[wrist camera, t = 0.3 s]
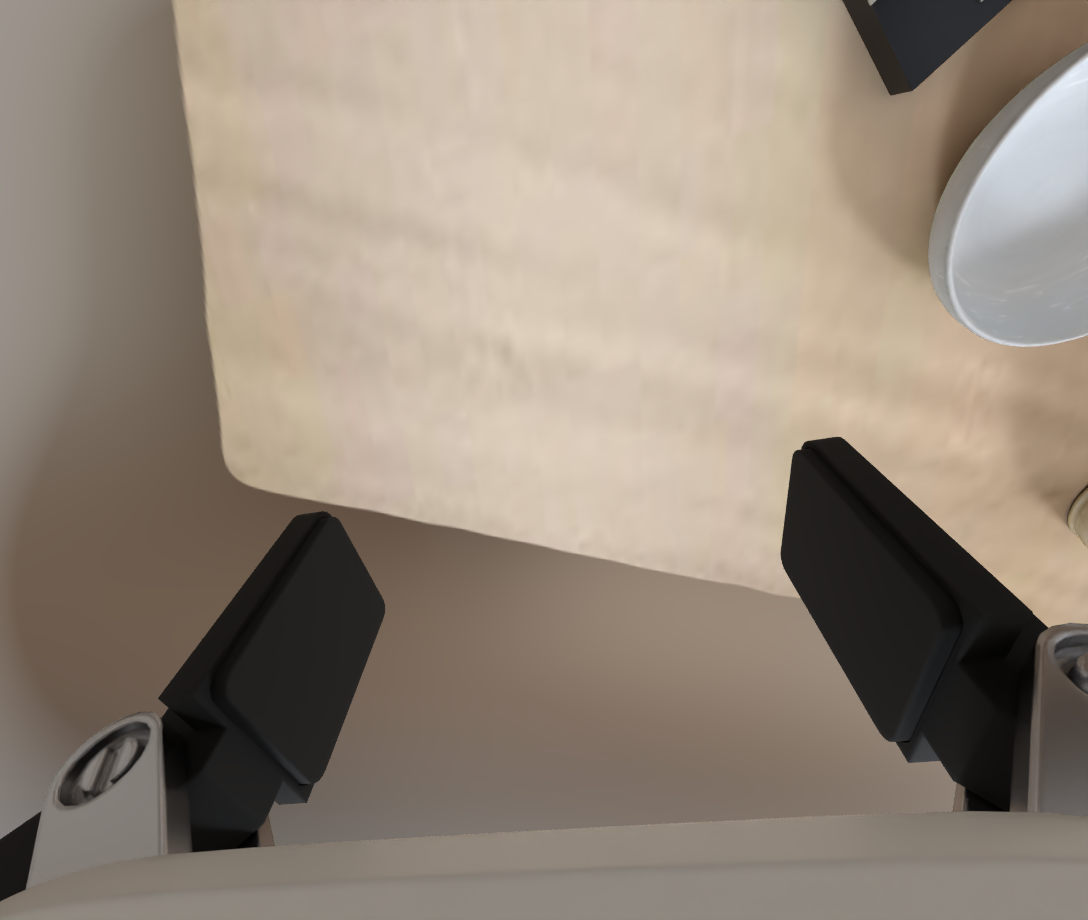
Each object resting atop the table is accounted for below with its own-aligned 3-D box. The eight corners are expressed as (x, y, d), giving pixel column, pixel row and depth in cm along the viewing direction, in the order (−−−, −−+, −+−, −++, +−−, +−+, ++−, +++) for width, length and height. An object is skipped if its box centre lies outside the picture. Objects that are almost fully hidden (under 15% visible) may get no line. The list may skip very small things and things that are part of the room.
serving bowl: (841, 296, 41) (888, 316, 36) (1019, -20, 30) (1129, -65, 25) (1037, 346, 44) (1111, 372, 38) (1269, 68, 33) (1424, 46, 27)
